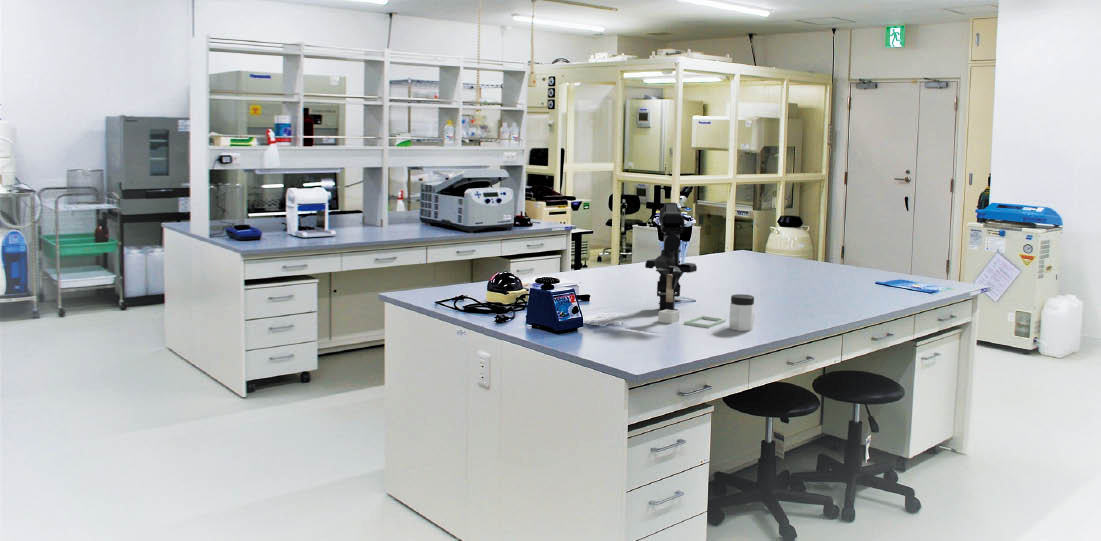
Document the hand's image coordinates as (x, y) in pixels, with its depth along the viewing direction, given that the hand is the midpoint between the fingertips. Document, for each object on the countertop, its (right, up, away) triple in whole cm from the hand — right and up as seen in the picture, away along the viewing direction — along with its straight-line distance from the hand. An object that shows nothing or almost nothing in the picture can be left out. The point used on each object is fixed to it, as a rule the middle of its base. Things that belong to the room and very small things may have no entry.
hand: (669, 288), depth 330 cm
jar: (+25, -15, -6) cm, 30 cm away
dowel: (0, -5, +1) cm, 5 cm away
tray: (+13, -13, 0) cm, 19 cm away
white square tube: (0, -13, +2) cm, 13 cm away
